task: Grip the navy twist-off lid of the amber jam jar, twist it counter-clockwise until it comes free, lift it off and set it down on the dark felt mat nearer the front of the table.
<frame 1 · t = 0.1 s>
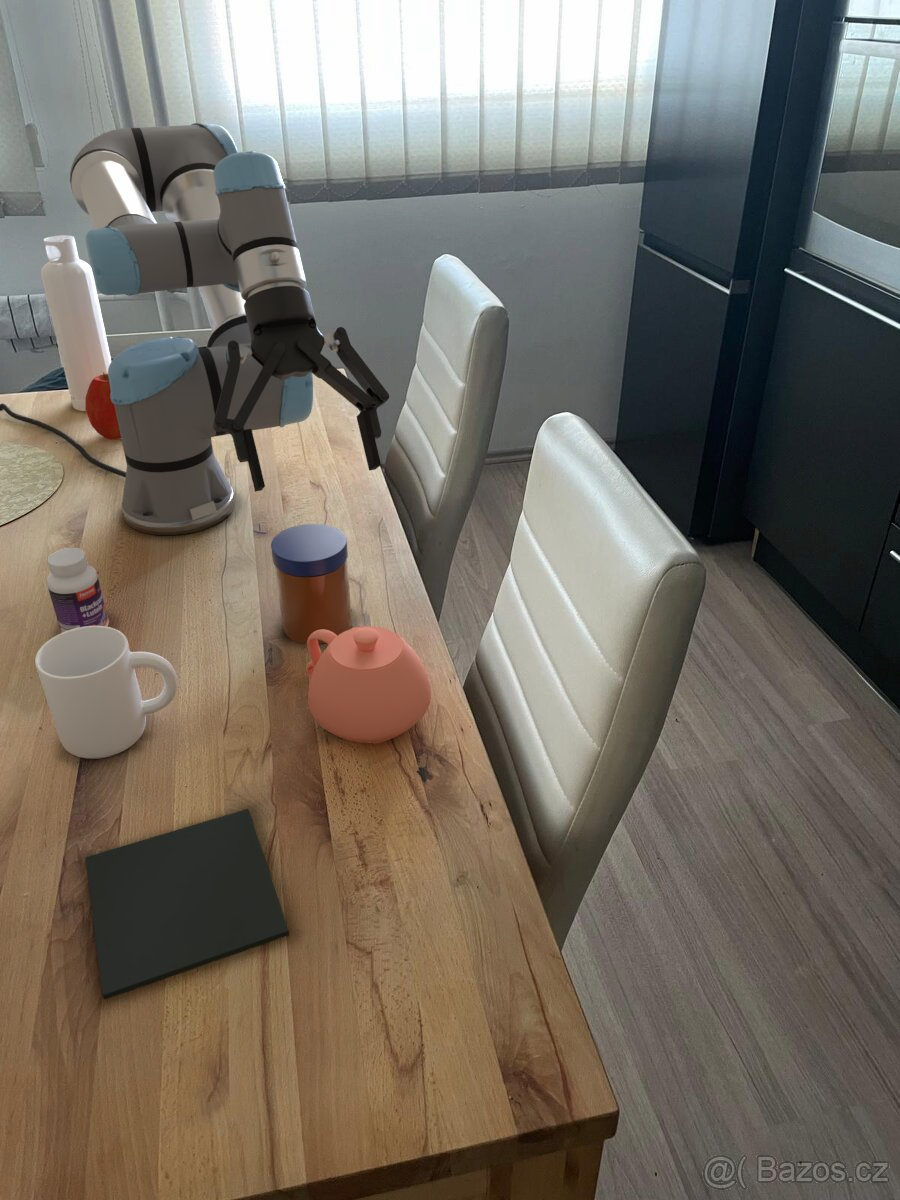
hand: (318, 478, 104), 15 cm above the table, tool tilted 35°, fingers open, 13 cm apart
pill bottle: (86, 629, 107), on the table
bottle: (96, 403, 164), on the table
apple: (118, 435, 153), on the table
jar: (317, 624, 107), on the table
lid: (309, 545, 101), point 11 cm above the table, screwed on, not yet turned
mug: (124, 731, 92), on the table
mat: (183, 897, 75), on the table
sugar bowl: (364, 713, 94), on the table
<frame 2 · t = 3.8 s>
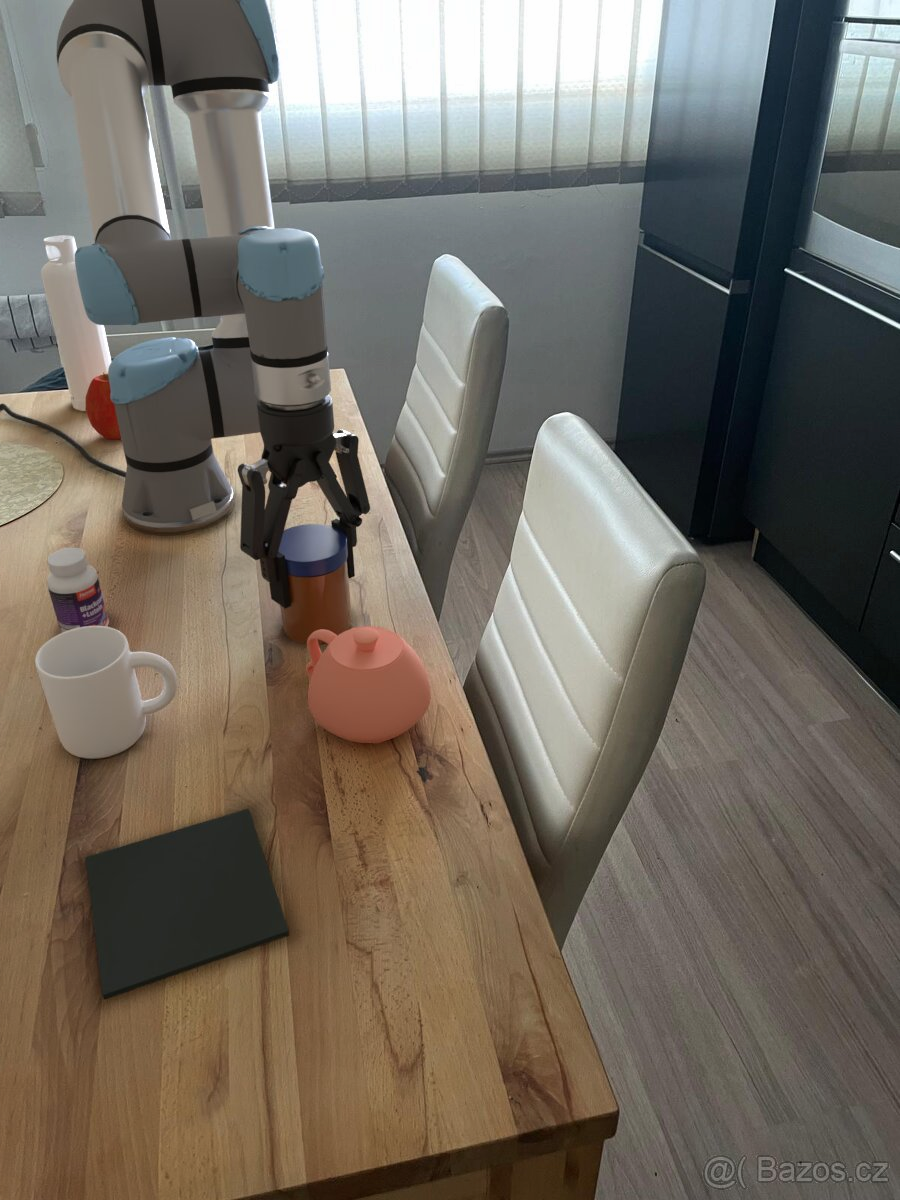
hand: (313, 587, 104), 5 cm above the table, tool pointing down, fingers closed on lid, 8 cm apart
lid: (309, 546, 101), point 11 cm above the table, screwed on, not yet turned, touching gripper
everything else where it was.
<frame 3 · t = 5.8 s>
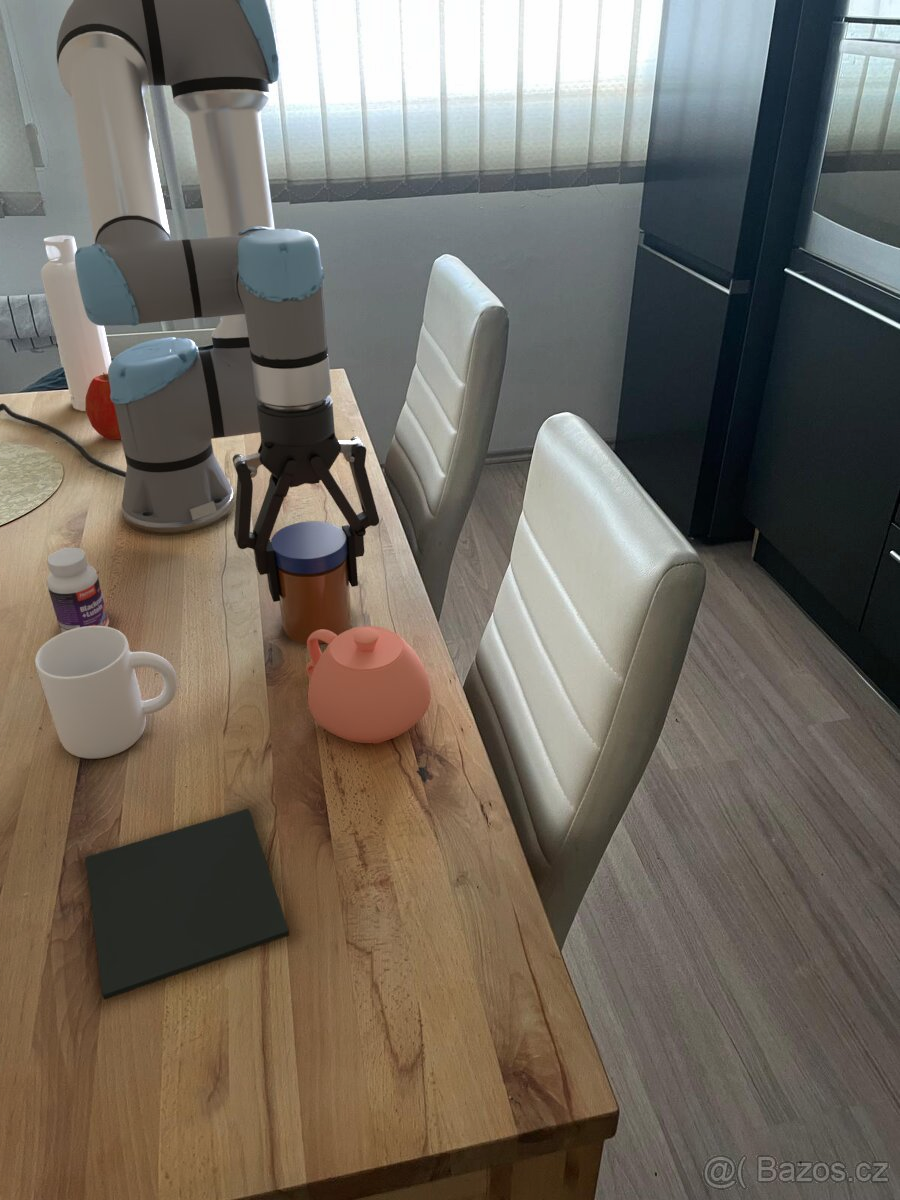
hand: (313, 587, 104), 5 cm above the table, tool pointing down, fingers closed on lid, 8 cm apart
lid: (309, 543, 101), point 11 cm above the table, off its thread, touching gripper
everything else where it was.
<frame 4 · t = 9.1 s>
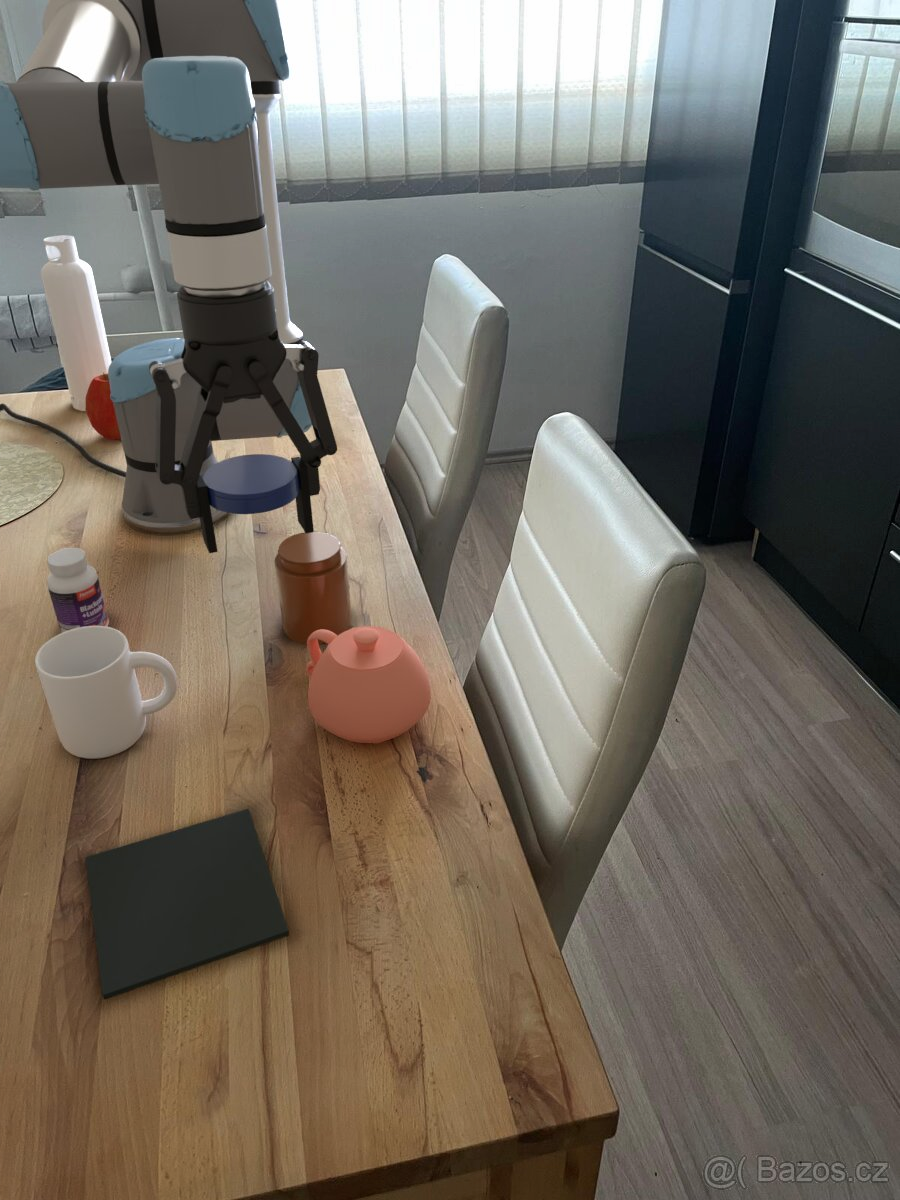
hand: (258, 535, 85), 20 cm above the table, tool pointing down, fingers closed on lid, 8 cm apart
lid: (251, 478, 82), point 26 cm above the table, off its thread, touching gripper
everything else where it was.
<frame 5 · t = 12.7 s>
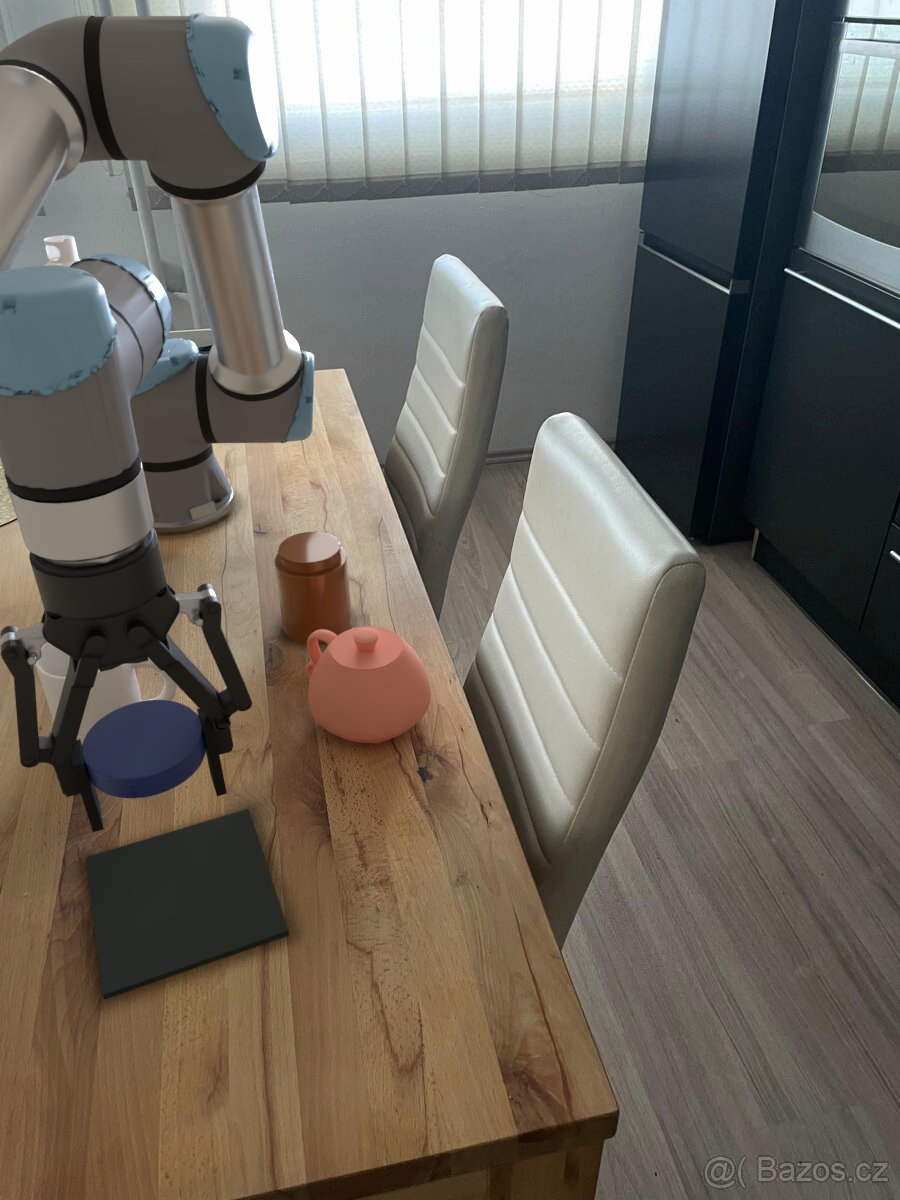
hand: (158, 800, 69), 11 cm above the table, tool pointing down, fingers closed on lid, 8 cm apart
lid: (144, 742, 66), point 17 cm above the table, off its thread, touching gripper
everything else where it was.
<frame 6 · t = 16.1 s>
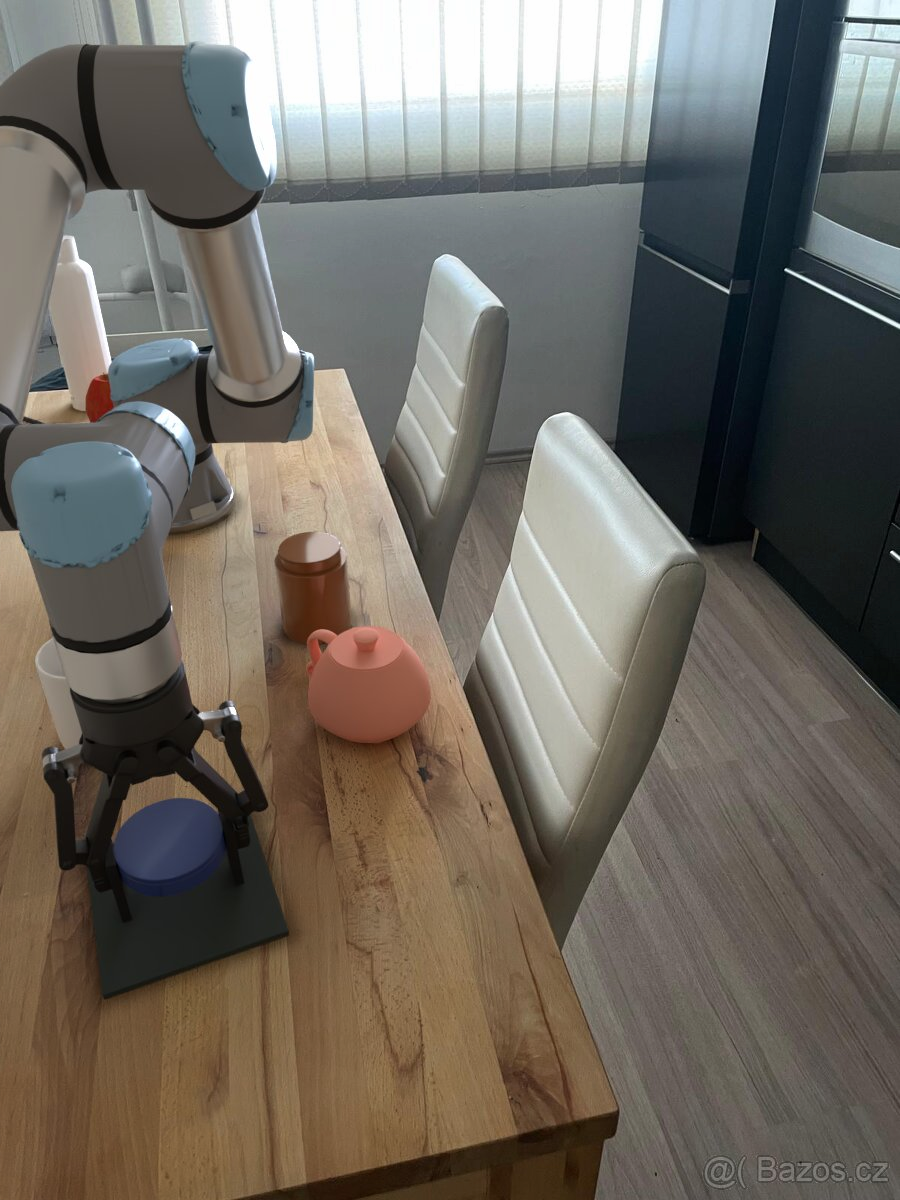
hand: (182, 889, 75), 1 cm above the table, tool pointing down, fingers closed on lid, 8 cm apart
lid: (169, 841, 71), point 7 cm above the table, off its thread, touching gripper
everything else where it was.
when the fingers open (1 cm above the table, at t = 21.6 s): lid drops 5 cm, resting on mat.
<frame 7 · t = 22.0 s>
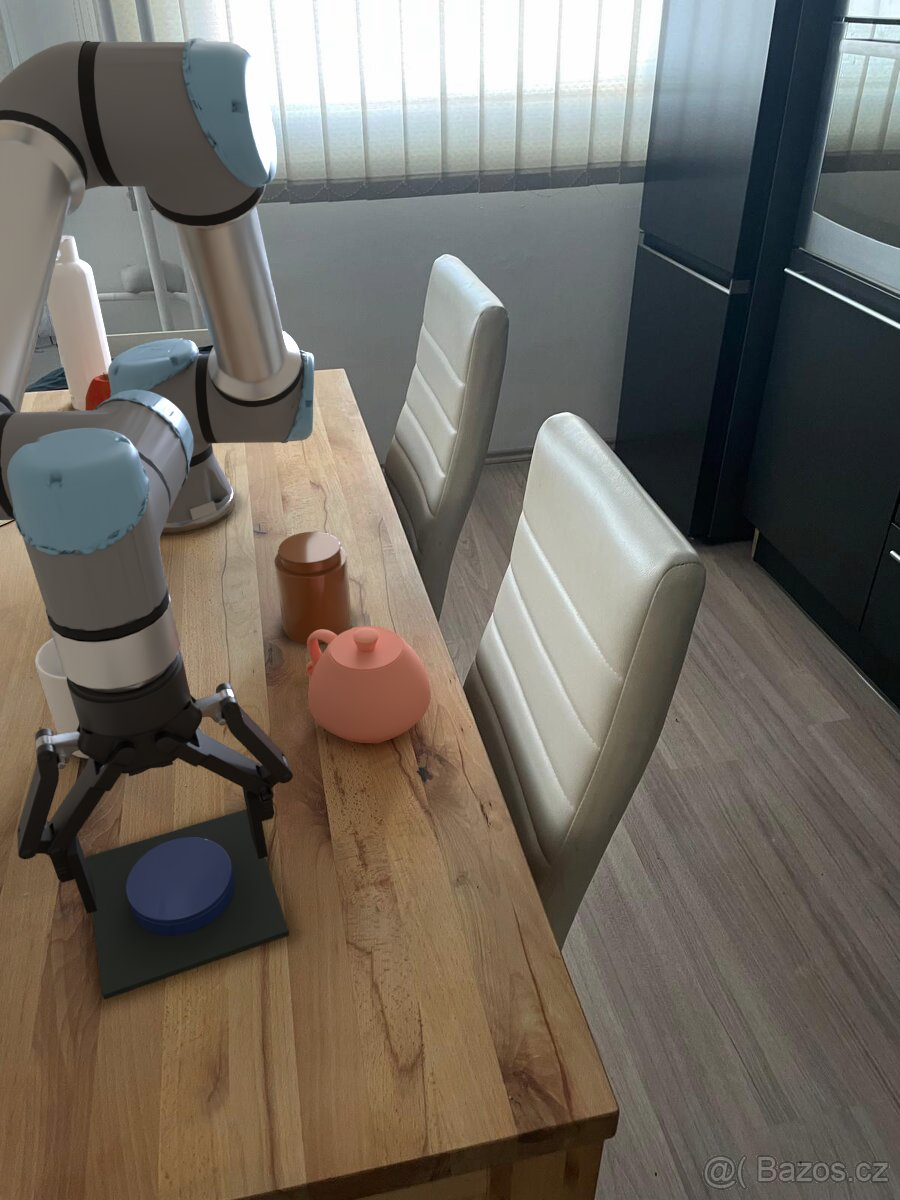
hand: (177, 872, 73), 3 cm above the table, tool pointing down, fingers open, 13 cm apart
lid: (180, 880, 74), point 2 cm above the table, off its thread, touching mat
everything else where it was.
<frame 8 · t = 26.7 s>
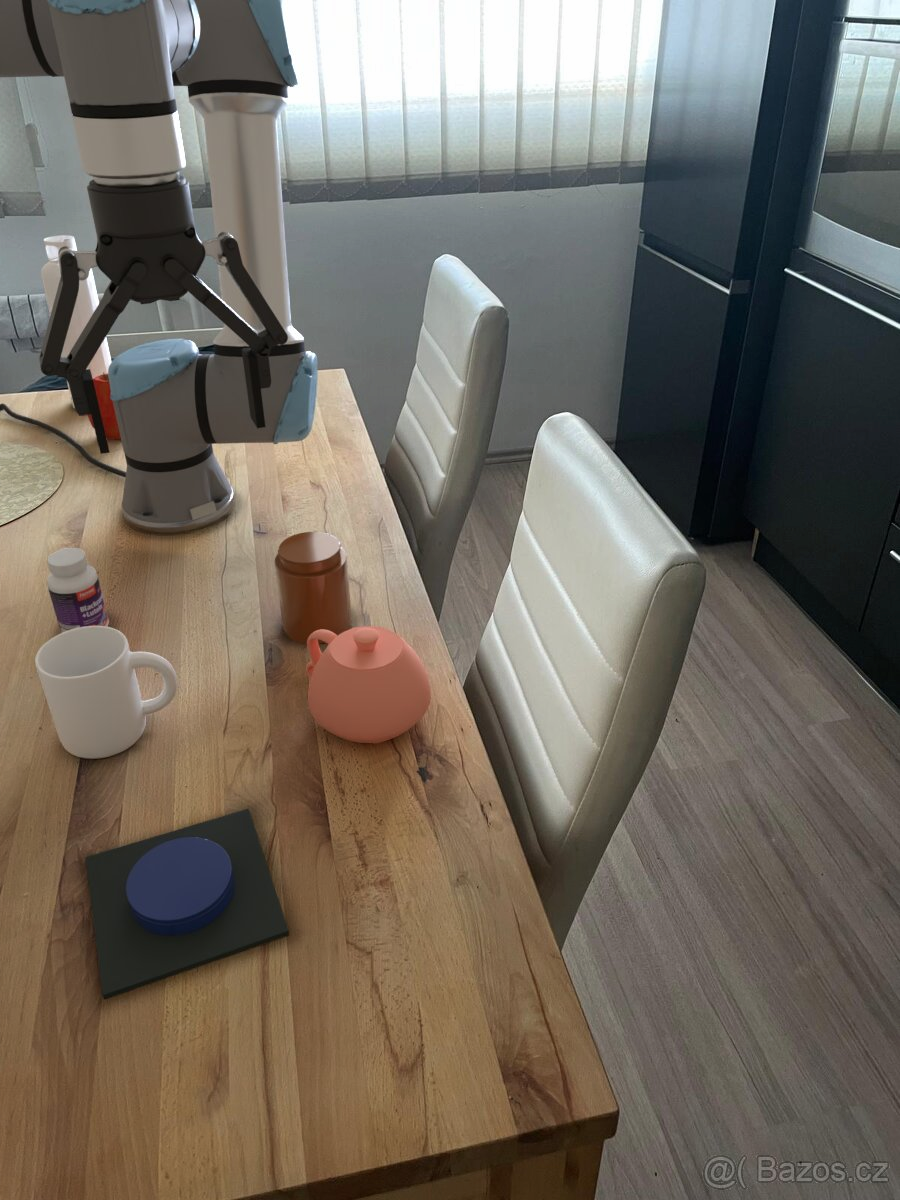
hand: (182, 434, 82), 29 cm above the table, tool pointing down, fingers open, 13 cm apart
nothing on the table moved.
at the end: lid came off its thread; lid inside the target area on the mat (0.0 cm from its centre), point 2.0 cm above the mat's base; the gripper is holding nothing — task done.
